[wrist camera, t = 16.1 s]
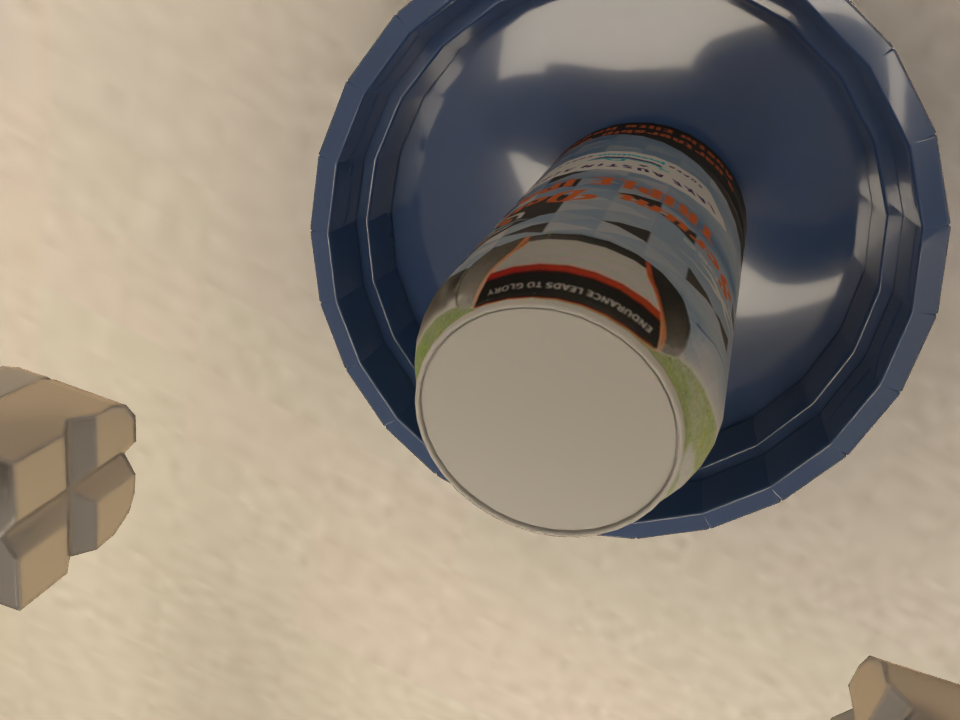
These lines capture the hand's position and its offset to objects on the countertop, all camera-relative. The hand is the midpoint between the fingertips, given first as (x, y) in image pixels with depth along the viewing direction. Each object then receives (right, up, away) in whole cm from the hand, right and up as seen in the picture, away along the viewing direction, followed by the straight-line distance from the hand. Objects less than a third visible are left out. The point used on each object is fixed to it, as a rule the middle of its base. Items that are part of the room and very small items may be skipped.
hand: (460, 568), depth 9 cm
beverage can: (+5, +6, +16) cm, 17 cm away
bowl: (+4, +6, +16) cm, 18 cm away
